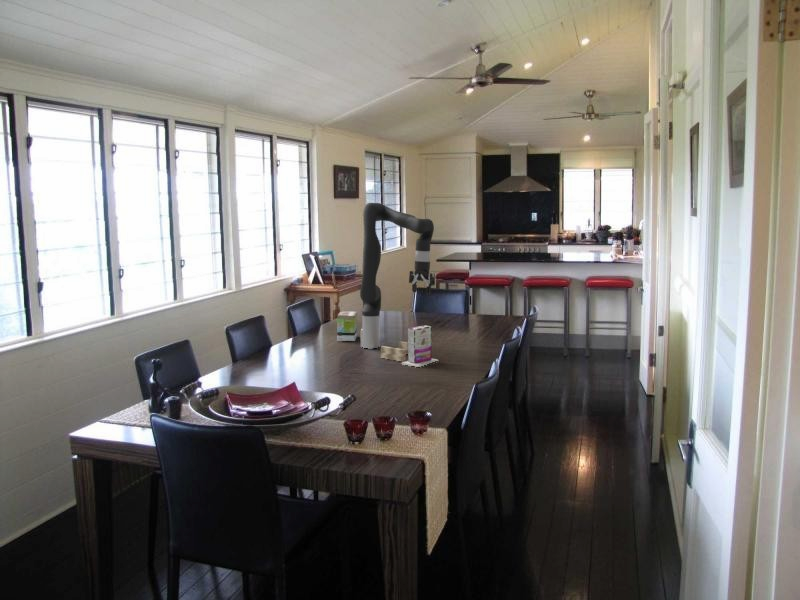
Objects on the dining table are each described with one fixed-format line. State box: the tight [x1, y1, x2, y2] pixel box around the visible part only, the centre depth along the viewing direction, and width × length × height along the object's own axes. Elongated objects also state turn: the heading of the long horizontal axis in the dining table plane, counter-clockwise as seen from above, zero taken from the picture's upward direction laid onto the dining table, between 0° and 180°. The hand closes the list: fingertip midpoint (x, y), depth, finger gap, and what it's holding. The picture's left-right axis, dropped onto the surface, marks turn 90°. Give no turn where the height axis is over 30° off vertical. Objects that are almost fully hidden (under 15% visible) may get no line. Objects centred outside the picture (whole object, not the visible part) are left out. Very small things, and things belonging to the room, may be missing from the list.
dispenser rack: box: [380, 341, 408, 363], centre depth 335 cm, size 14×15×6 cm
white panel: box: [400, 358, 439, 368], centre depth 323 cm, size 10×16×1 cm, turn 142°
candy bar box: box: [407, 324, 433, 363], centre depth 322 cm, size 11×5×16 cm, turn 131°
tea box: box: [336, 311, 358, 342], centre depth 379 cm, size 15×10×15 cm
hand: (421, 293), depth 334 cm, fingers open, 8 cm apart
